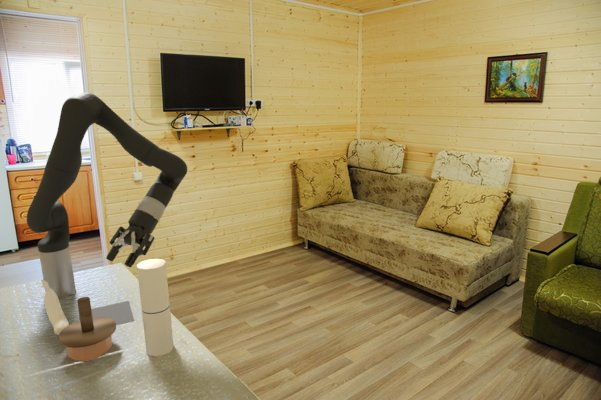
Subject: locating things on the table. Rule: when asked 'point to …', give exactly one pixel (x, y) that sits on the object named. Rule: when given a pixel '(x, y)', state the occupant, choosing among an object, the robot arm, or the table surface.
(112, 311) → the rubber mat
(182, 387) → the table surface
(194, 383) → the table surface
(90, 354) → the terracotta bowl
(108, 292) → the table surface
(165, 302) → the cylindrical container
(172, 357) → the table surface
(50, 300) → the banana
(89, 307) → the walnut lid
